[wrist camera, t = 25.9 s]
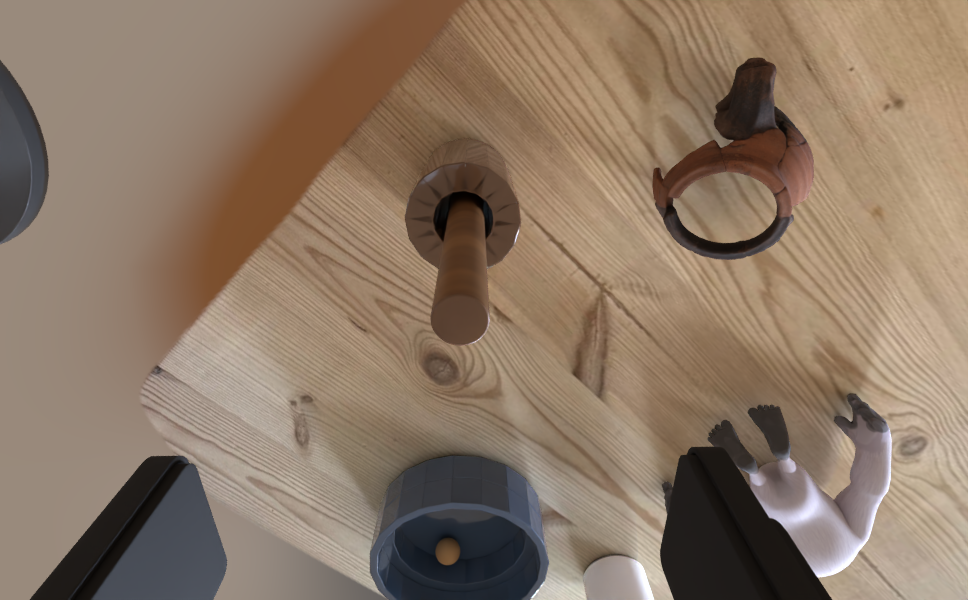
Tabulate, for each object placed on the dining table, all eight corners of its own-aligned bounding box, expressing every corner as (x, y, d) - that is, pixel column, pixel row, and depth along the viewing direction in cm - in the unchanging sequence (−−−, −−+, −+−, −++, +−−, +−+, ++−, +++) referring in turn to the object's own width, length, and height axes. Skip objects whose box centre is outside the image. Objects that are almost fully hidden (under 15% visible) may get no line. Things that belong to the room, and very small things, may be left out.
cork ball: (454, 530, 49) (465, 555, 48) (452, 535, 51) (463, 559, 50) (431, 543, 48) (442, 568, 47) (431, 547, 50) (441, 571, 49)
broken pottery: (800, 199, 37) (804, 273, 32) (663, 202, 41) (647, 267, 36) (829, 22, 29) (841, 80, 24) (657, 47, 33) (635, 102, 28)
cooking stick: (447, 180, 35) (418, 311, 17) (472, 165, 34) (470, 283, 16) (463, 205, 36) (450, 355, 18) (487, 190, 35) (500, 329, 17)
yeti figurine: (634, 434, 47) (695, 564, 55) (650, 490, 42) (716, 628, 49) (861, 363, 42) (894, 518, 50) (916, 416, 36) (944, 582, 44)
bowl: (349, 492, 48) (333, 547, 42) (489, 425, 45) (491, 476, 39) (437, 583, 54) (432, 642, 48) (566, 530, 51) (577, 586, 45)
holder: (404, 168, 35) (382, 201, 27) (481, 120, 34) (483, 139, 26) (451, 241, 37) (445, 292, 29) (525, 199, 36) (540, 240, 28)
